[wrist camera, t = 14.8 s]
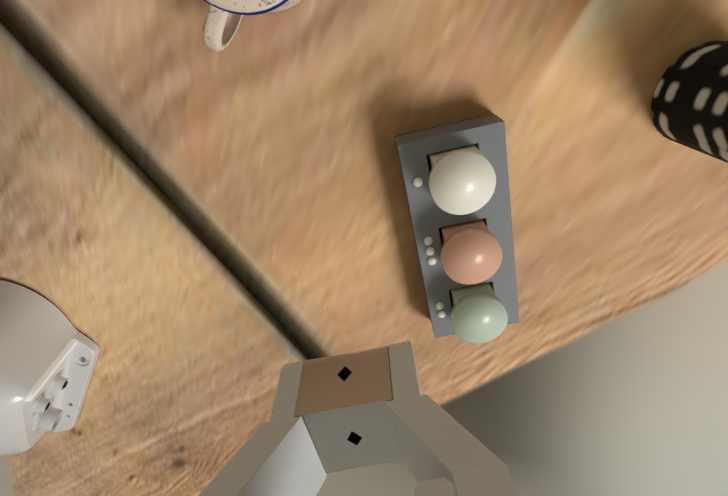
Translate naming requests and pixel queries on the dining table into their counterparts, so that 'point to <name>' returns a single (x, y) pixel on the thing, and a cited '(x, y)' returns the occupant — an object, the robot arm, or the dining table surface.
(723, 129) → the spotted tube
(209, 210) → the dining table surface
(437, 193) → the button one dot
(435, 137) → the button panel
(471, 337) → the button two dots
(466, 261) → the pink dome knob
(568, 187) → the dining table surface
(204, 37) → the teacup with lid
